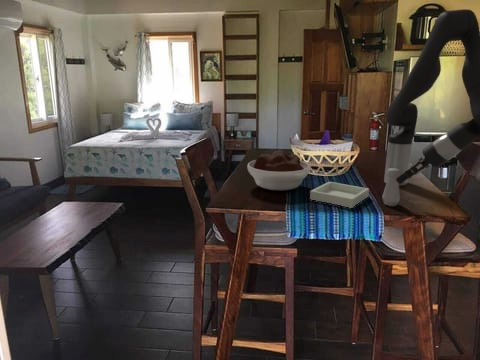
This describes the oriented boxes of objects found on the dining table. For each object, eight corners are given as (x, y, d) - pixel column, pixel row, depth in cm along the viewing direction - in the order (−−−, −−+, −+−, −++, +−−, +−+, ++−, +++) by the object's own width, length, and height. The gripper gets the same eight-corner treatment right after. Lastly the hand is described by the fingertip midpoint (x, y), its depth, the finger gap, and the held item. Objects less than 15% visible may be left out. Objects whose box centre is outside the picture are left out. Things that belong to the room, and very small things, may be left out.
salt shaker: (400, 207, 140) (404, 171, 137) (382, 206, 141) (386, 170, 138) (397, 202, 146) (401, 167, 142) (380, 201, 147) (384, 166, 143)
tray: (328, 190, 160) (329, 181, 159) (368, 197, 151) (369, 188, 150) (309, 200, 148) (310, 190, 147) (351, 208, 139) (352, 199, 138)
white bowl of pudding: (318, 194, 154) (321, 156, 150) (255, 198, 149) (255, 158, 145) (297, 178, 178) (298, 144, 174) (241, 180, 173) (241, 146, 169)
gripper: (438, 138, 136) (400, 166, 146) (429, 144, 125) (387, 174, 135) (454, 155, 134) (413, 183, 144) (445, 163, 123) (402, 192, 133)
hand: (401, 179), depth 139 cm, fingers open, 8 cm apart
